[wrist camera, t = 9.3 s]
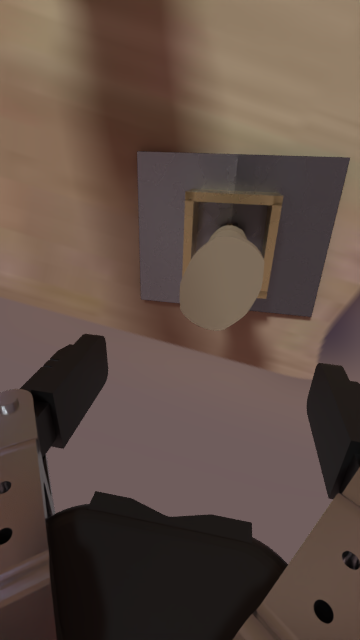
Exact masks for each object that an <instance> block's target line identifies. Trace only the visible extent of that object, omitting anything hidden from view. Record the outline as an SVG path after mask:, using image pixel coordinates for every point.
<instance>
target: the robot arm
mask: <svg viewBox="0 0 360 640" xmlns="http://www.w3.org/2000/svg"><path fill="white" fill-rule="evenodd" d="M107 376H108V363H107V352H106V342H105V338H104V336H99V335H90V334H84V335H82V337H80V338H79V340H78V341H77V342H76V343H75V344H74V345H68V346H66V347H64V348H62V349H60V350H58V351H57V352H56V353H55V354H54V355H53V356H52V357H51V358H50V360H48V361H47V362H46V363H45V364H44V366H43V367H41V368H40V369H39V370H38V371H37V372H36V373H35V374H34V375H33V376H32V377H31V378H30V379H29V380H28V381H27V382H26V383H25V384H24V385H23V386H22V387H21V388H20V389H12V390H6V391H3V392H0V640H360V384H359V383H358V382H353V381H350V380H349V379H348V376H347V374H346V372H345V370H344V368H343V367H342V366H338V365H331V364H323V363H318V364H317V366H316V369H315V373H314V376H313V380H312V384H311V387H310V391H309V395H308V399H307V415H308V419H309V422H310V427H311V431H312V434H313V438H314V442H315V446H316V450H317V454H318V458H319V462H320V465H321V470H322V474H323V477H324V482H325V486H326V490H327V494H328V497H329V498H330V499H333V501H332V502H331V503H330V505H329V507H328V508H327V509H326V511H325V512H324V514H323V515H322V517H321V518H320V519H319V521H318V522H317V524H316V525H315V527H314V528H313V530H312V531H311V533H310V534H309V535H308V537H307V538H306V540H305V542H304V543H303V544H302V546H301V547H300V548H299V550H298V551H297V553H296V554H295V556H294V557H293V559H292V560H291V562H290V563H289V564H287V563H286V562H285V561H284V560H283V559H282V558H281V557H280V556H279V555H278V554H277V553H275V552H274V551H273V550H272V549H270V548H269V547H268V546H266V545H265V544H263V543H262V542H260V541H258V540H256V539H255V538H253V537H252V523H251V522H246V521H240V520H235V519H230V518H226V517H221V516H216V515H195V516H180V517H168V516H165V515H163V514H161V513H159V512H157V511H155V510H153V509H151V508H149V507H147V506H145V505H143V504H141V503H139V502H137V501H135V500H134V499H131V498H127V497H122V496H116V495H112V494H107V493H102V492H97V491H96V492H95V494H94V496H93V498H92V500H91V503H90V504H84V505H79V506H75V507H71V508H68V509H65V510H63V511H61V512H58V513H56V514H55V509H54V503H53V496H52V490H51V482H50V476H49V470H48V462H47V457H46V453H47V451H48V450H49V448H50V447H51V446H53V447H58V448H64V447H65V446H66V444H67V442H68V441H69V439H70V438H71V436H72V435H73V433H74V431H75V430H76V428H77V427H78V425H79V424H80V422H81V420H82V419H83V417H84V416H85V414H86V413H87V411H88V409H89V408H90V406H91V405H92V403H93V401H94V400H95V398H96V397H97V395H98V394H99V392H100V391H101V389H102V388H103V386H104V384H105V382H106V380H107Z"/></svg>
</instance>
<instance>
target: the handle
mask: <svg viewBox="0 0 360 640" xmlns="http://www.w3.org/2000/svg"><path fill="white" fill-rule="evenodd" d="M263 273H264V258H263V256H262V254H261V252H260V251H259V250H258V248H257V247H256V246H255V245H254V244H253V243H251V242H250V241H248V240H247V237H246V235H245V234H244V232H243V230H242V229H240V228H238V227H236V226H233V225H232V224H227V225H226V226H223V227H221V228H219V229H218V230H216V231H215V232H214V233H213V235H212V236H211V237H210V239H209V241H208V242H207V243H206V244H205V245H203V246H202V247H201V248H200V249H199V250H198V251H197V252H196V253H195V254H194V255H193V257H192V259H191V261H190V263H189V265H188V267H187V269H186V271H185V273H184V275H183V277H182V280H181V283H180V310H181V311H182V313H183V314H184V315H185V317H186V318H187V319H188V320H190V321H191V322H192V323H194V324H196V325H198V326H200V327H202V328H205V329H208V330H216V331H219V330H224V329H226V328H227V327H229V326H231V325H232V324H234V323H235V322H237V321H239V320H240V319H241V318H242V317H244V316H245V315H246V313H247V312H248V311H249V310H250V308H251V306H252V305H253V303H254V302H255V300H256V298H257V297H258V295H259V293H260V291H261V287H262V282H263Z"/></svg>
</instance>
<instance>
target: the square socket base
mask: <svg viewBox="0 0 360 640" xmlns="http://www.w3.org/2000/svg"><path fill="white" fill-rule="evenodd" d="M349 160H350V158H343V157H309V156H275V155H241V154H207V153H174V152H140V151H137V168H138V206H139V243H140V281H141V299H143V300H152V301H162V302H172V303H180V283H181V280H182V277H183V275H184V273H185V271H186V269H187V267H188V265H189V263H190V261H191V259H192V257H193V255H194V254H195V253H196V252H197V251H198V250H199V249H200V248H201V247H202V246H203V245H205V244H206V243H207V242H208V241H209V239H210V237H211V236H212V235H213V233H214V232H215V231H216V230H218V229H219V228H221V227H223V226H226V225H227V224H232V225H233V226H236V227H238V228H240V229H242V230H243V232H244V234H245V235H246V237H247V240H248V241H250V242H251V243H253V244H254V245H255V246H256V247H257V248H258V250H259V251H260V252H261V254H262V256H263V258H264V273H263V282H262V287H261V291H260V293H259V295H258V297H257V298H256V300H255V302H254V303H253V305H252V306H251V308H250V310H249V311H259V312H269V313H279V314H288V315H298V316H308V317H311V315H312V311H313V307H314V303H315V299H316V295H317V291H318V287H319V283H320V279H321V274H322V270H323V266H324V262H325V258H326V254H327V250H328V246H329V242H330V238H331V234H332V230H333V225H334V221H335V217H336V213H337V209H338V205H339V201H340V197H341V193H342V189H343V185H344V181H345V176H346V172H347V168H348V164H349Z"/></svg>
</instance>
